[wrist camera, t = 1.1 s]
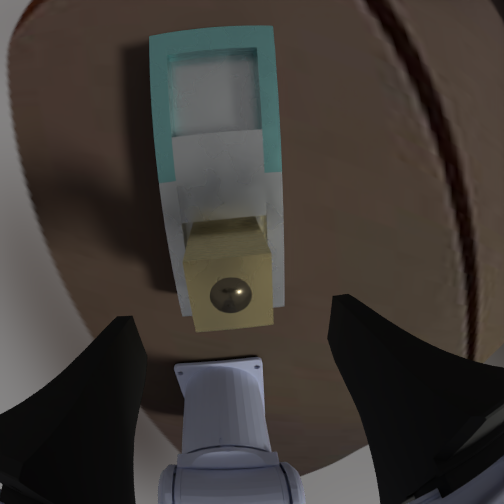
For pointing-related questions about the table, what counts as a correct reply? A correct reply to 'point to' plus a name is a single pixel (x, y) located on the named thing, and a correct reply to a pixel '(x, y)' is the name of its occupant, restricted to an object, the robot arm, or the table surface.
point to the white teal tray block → (217, 137)
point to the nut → (228, 275)
